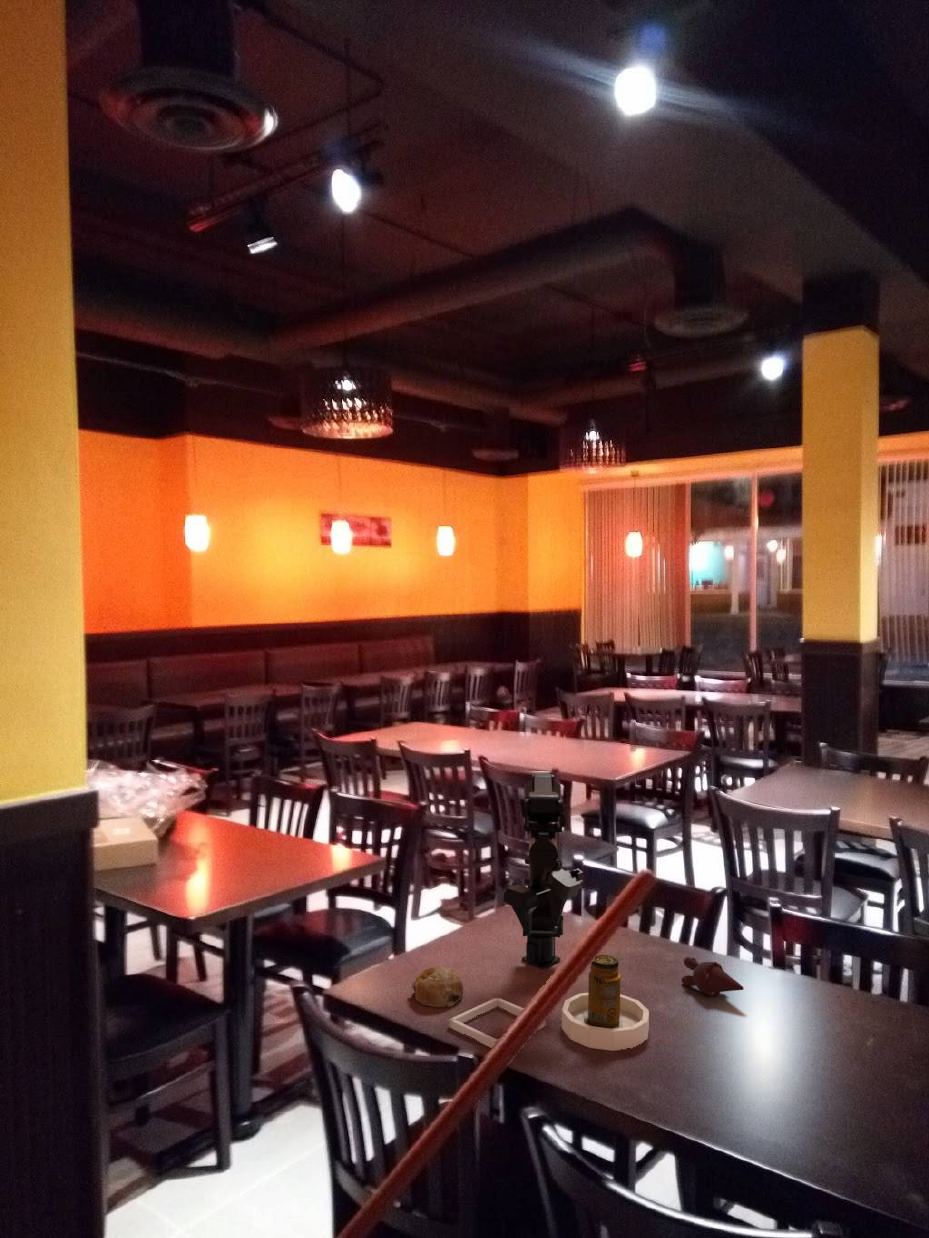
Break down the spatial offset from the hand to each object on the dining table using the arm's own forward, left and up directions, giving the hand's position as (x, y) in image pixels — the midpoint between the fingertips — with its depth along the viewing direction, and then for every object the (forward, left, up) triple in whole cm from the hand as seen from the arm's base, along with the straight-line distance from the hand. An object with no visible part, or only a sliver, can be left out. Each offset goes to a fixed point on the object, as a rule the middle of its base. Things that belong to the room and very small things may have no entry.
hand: (542, 929), depth 186 cm
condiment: (+4, +19, -12) cm, 23 cm away
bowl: (+4, +19, -13) cm, 23 cm away
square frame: (+18, +4, -13) cm, 23 cm away
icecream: (-24, +26, -13) cm, 38 cm away
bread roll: (+17, -13, -13) cm, 26 cm away
